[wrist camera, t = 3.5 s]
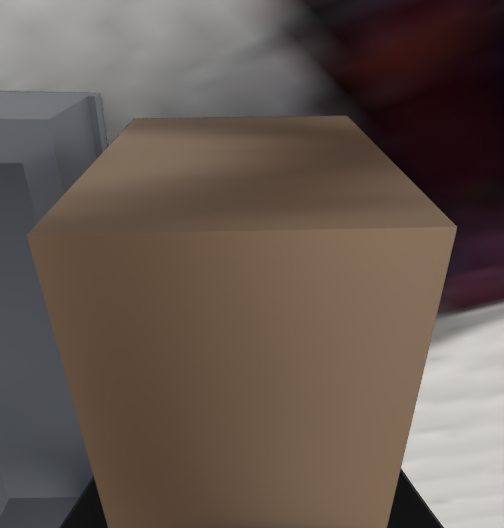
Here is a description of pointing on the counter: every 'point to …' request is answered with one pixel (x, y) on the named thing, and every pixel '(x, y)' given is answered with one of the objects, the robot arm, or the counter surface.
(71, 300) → the slat
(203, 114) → the counter surface
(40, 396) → the cradle
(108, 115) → the counter surface
